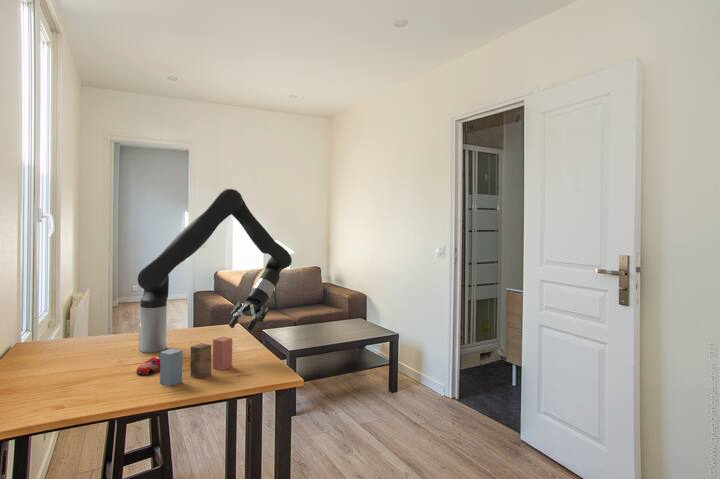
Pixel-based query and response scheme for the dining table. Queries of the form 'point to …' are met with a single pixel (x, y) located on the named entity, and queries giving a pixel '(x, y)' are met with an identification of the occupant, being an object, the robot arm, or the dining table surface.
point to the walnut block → (200, 361)
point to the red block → (222, 353)
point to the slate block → (170, 367)
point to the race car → (149, 366)
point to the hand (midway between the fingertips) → (239, 328)
